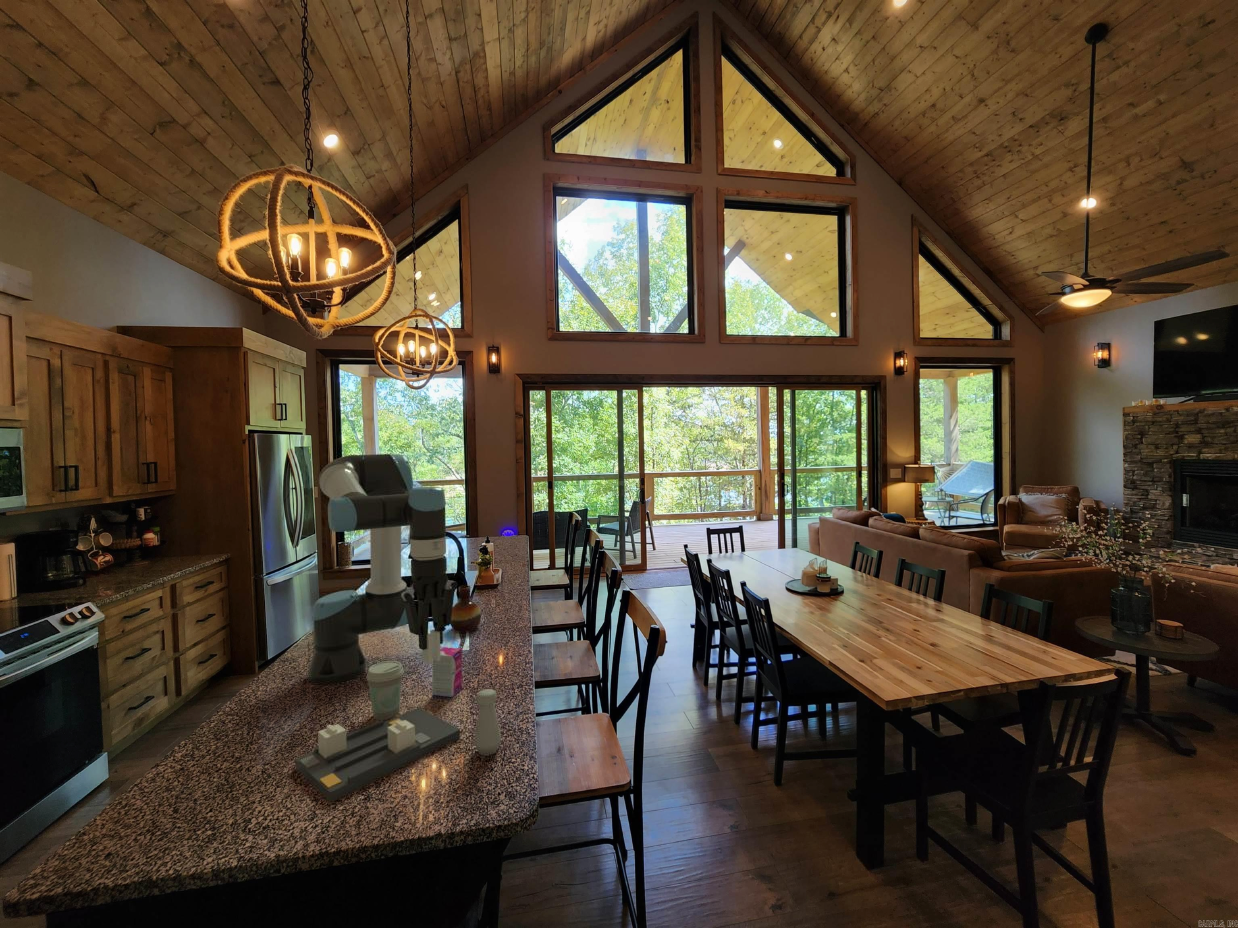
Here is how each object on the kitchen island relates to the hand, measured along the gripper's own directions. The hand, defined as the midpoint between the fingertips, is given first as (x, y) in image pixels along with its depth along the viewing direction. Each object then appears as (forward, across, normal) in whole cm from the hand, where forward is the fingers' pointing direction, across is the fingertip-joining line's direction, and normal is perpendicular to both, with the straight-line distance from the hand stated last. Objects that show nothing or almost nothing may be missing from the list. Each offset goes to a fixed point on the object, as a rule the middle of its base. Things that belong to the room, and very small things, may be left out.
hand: (431, 660), depth 120 cm
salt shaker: (+19, +6, -12) cm, 23 cm away
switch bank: (+18, -10, +5) cm, 21 cm away
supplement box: (+19, +16, +18) cm, 30 cm away
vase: (+19, +48, +58) cm, 78 cm away
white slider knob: (+16, -18, +10) cm, 26 cm away
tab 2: (+16, -7, 0) cm, 18 cm away
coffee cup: (+19, 0, +20) cm, 28 cm away
